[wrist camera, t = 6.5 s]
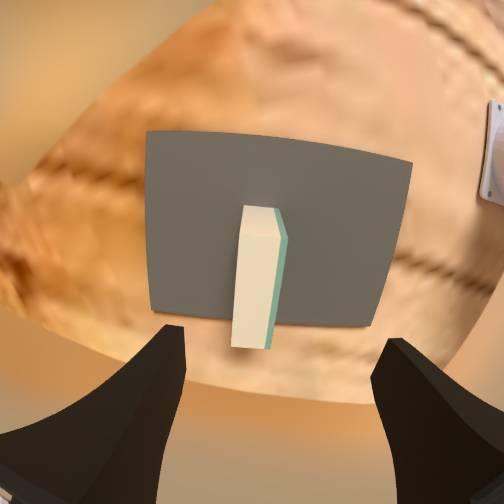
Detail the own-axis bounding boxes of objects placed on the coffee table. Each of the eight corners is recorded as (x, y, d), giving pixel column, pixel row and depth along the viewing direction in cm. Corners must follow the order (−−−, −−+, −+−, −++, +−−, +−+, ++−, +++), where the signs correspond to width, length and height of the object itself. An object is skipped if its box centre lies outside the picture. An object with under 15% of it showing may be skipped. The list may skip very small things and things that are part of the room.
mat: (409, 162, 15) (412, 162, 15) (368, 323, 20) (370, 326, 20) (149, 131, 15) (146, 131, 15) (152, 306, 20) (151, 310, 19)
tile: (278, 208, 16) (288, 238, 12) (267, 298, 19) (270, 349, 14) (243, 205, 16) (239, 233, 12) (236, 295, 19) (231, 346, 14)
